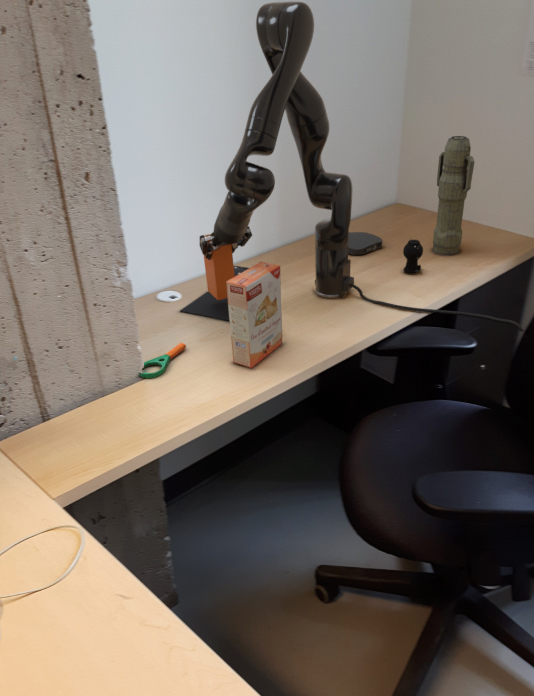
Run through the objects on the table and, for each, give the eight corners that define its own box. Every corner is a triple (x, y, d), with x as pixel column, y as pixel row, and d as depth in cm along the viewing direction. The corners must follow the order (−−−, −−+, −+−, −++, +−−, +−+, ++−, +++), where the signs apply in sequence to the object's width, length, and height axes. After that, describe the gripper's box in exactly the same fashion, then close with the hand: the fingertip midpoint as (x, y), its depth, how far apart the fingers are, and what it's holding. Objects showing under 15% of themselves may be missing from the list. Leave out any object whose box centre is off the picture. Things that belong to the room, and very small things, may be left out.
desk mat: (266, 303, 168) (266, 302, 168) (241, 324, 158) (241, 322, 158) (207, 292, 176) (207, 291, 176) (180, 311, 166) (180, 310, 166)
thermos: (455, 258, 191) (469, 142, 172) (423, 250, 198) (434, 138, 178) (468, 250, 196) (484, 136, 177) (437, 243, 203) (449, 133, 184)
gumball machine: (425, 274, 181) (428, 243, 175) (407, 277, 180) (409, 245, 174) (416, 267, 186) (418, 235, 181) (398, 269, 185) (400, 238, 180)
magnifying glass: (152, 380, 136) (151, 374, 135) (133, 374, 139) (131, 368, 138) (193, 351, 147) (192, 345, 146) (174, 346, 150) (173, 340, 149)
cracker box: (253, 369, 139) (246, 286, 127) (232, 363, 141) (223, 281, 130) (284, 344, 148) (281, 264, 137) (264, 338, 151) (259, 259, 139)
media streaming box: (356, 236, 212) (356, 228, 210) (386, 246, 203) (387, 237, 201) (326, 247, 204) (326, 238, 203) (357, 257, 195) (357, 249, 193)
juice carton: (200, 230, 157) (210, 238, 152) (219, 226, 159) (230, 234, 154) (207, 291, 167) (217, 300, 161) (225, 286, 169) (236, 295, 163)
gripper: (210, 240, 139) (198, 272, 155) (264, 229, 145) (247, 261, 160) (199, 212, 140) (188, 247, 156) (254, 202, 146) (238, 237, 161)
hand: (218, 254), depth 158 cm, fingers closed on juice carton, 5 cm apart
